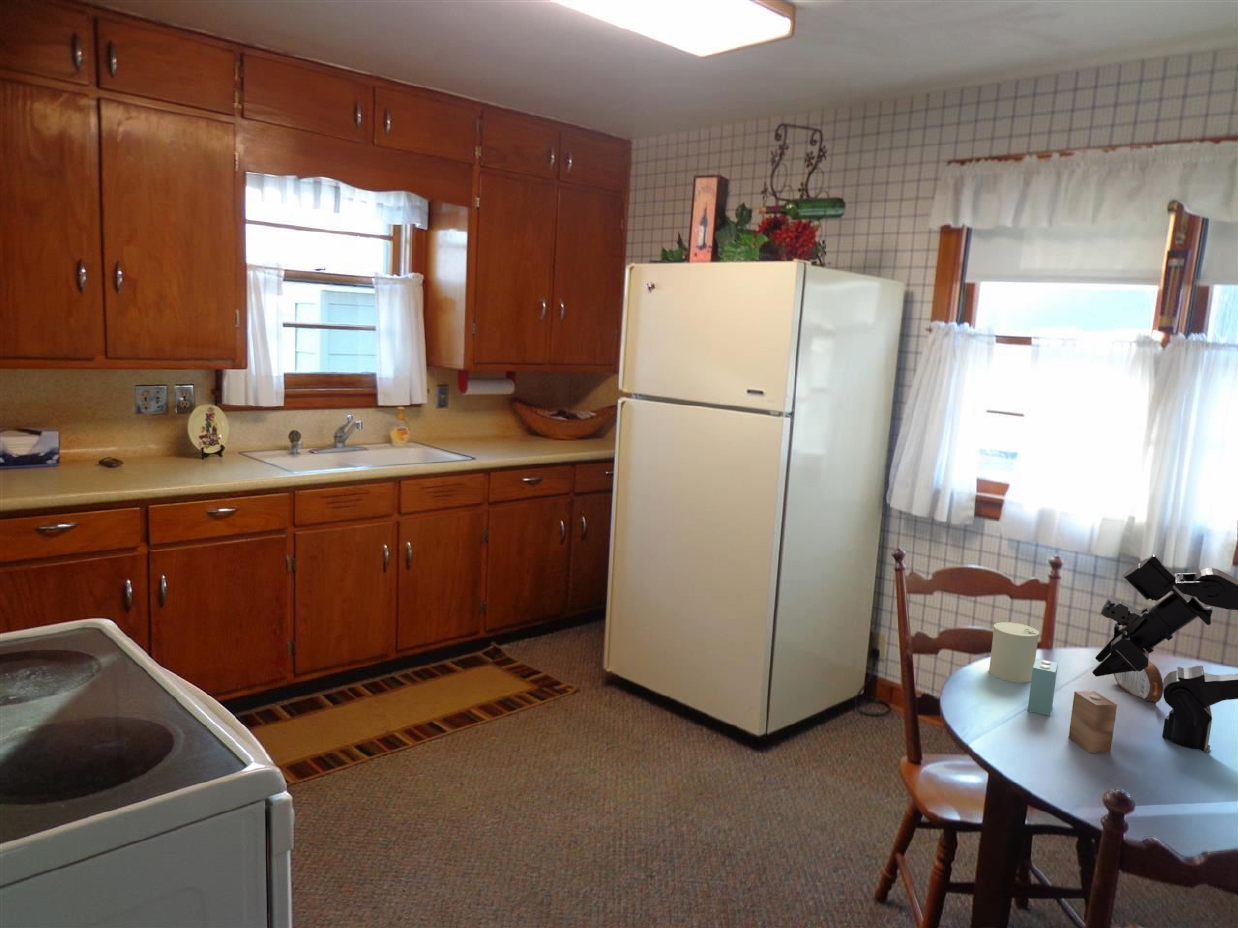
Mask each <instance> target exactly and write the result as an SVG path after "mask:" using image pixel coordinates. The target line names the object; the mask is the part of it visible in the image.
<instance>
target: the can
mask: <svg viewBox="0 0 1238 928" xmlns="http://www.w3.org/2000/svg"><path fill="white" fill-rule="evenodd" d="M1039 636H1040V632H1039V630H1037V629H1036V628H1034V627H1032V626H1030V625H1026V624H1023V623H1017V622H1013V621H1012V622H1011V621H1009V622H1007V621H1001V622H996V623H994V625H993V632H992V643H991V652H990V660H989V667H988V668H989V669H988V672H989V674H990V675H991V676H994V677H995V678H998V679H1000V680H1003V681H1007V682H1010V683H1011V682H1012V683H1021V684H1022V683H1023V684H1024V683H1031V679H1032V671H1033V666H1034V663H1035V660H1036V659H1037V657H1036V656H1037V650H1038V649H1037V648H1038V641H1039Z"/></svg>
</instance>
